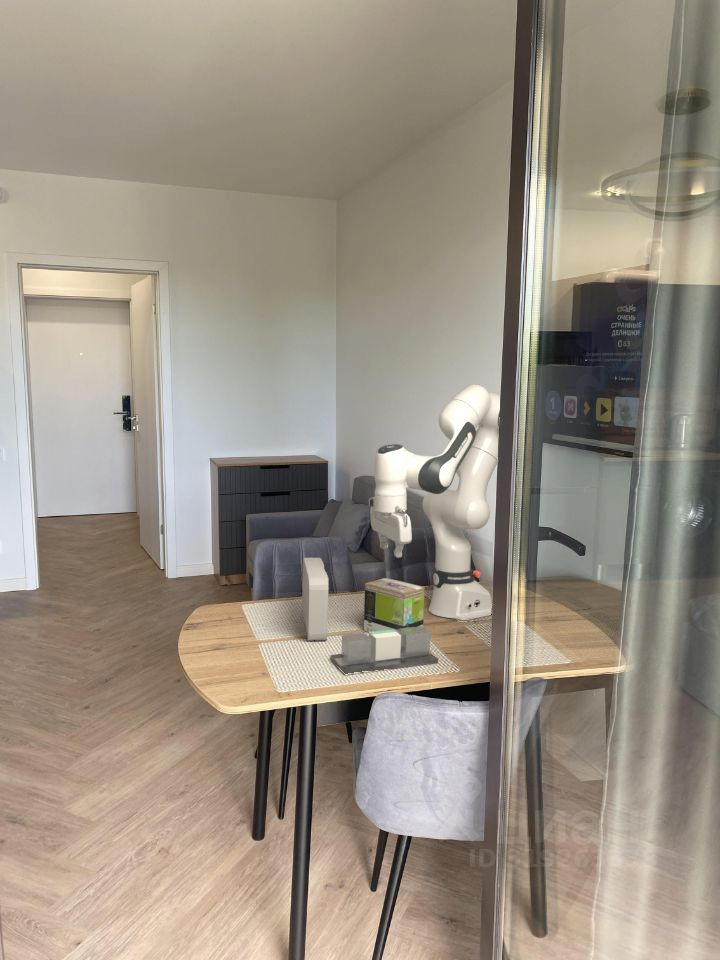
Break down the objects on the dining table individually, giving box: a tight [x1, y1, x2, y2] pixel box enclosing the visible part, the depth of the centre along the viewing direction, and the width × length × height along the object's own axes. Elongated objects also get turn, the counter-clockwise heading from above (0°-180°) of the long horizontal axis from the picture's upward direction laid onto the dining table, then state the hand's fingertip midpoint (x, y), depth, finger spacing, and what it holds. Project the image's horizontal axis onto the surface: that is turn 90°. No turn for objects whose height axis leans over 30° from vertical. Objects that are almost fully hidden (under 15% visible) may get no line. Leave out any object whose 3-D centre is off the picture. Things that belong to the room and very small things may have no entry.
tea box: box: [363, 577, 425, 633], centre depth 213 cm, size 15×10×15 cm
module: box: [368, 629, 401, 661], centre depth 192 cm, size 7×5×6 cm
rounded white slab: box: [301, 557, 330, 642], centre depth 218 cm, size 29×8×18 cm, turn 8°
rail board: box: [329, 625, 439, 674], centre depth 192 cm, size 26×11×8 cm, turn 111°
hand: (390, 552), depth 205 cm, fingers open, 8 cm apart
